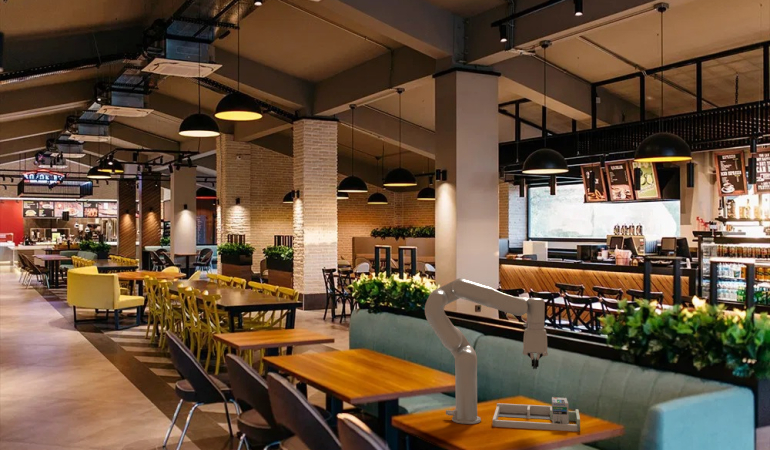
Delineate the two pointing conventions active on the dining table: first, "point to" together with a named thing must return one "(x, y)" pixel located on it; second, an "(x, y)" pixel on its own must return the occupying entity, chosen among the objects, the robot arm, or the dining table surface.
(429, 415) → the dining table surface
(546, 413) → the frame
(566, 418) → the light bulb box
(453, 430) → the dining table surface
